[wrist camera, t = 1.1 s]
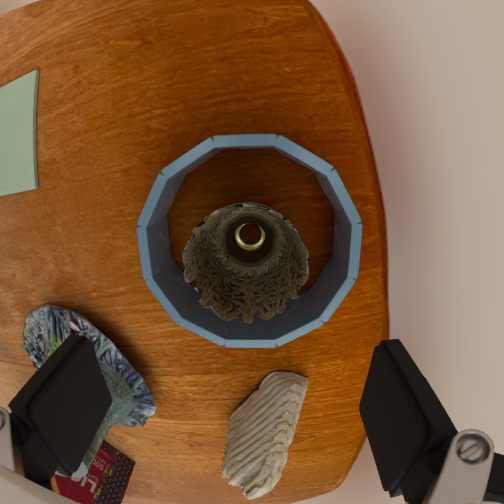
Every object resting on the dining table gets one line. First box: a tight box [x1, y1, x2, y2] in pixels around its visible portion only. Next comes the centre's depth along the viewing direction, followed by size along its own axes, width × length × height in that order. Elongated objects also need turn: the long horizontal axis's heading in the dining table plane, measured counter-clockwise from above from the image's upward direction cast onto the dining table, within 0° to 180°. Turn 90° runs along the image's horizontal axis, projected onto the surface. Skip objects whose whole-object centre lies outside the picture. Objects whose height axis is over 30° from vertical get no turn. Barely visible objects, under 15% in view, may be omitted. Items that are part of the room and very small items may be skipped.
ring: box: [136, 134, 362, 348], centre depth 22 cm, size 16×16×5 cm
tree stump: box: [21, 304, 156, 478], centre depth 24 cm, size 18×20×18 cm
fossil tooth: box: [221, 372, 308, 500], centre depth 26 cm, size 12×6×15 cm
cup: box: [182, 202, 309, 324], centre depth 21 cm, size 8×7×8 cm
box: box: [54, 440, 136, 504], centre depth 27 cm, size 16×9×20 cm, turn 38°
